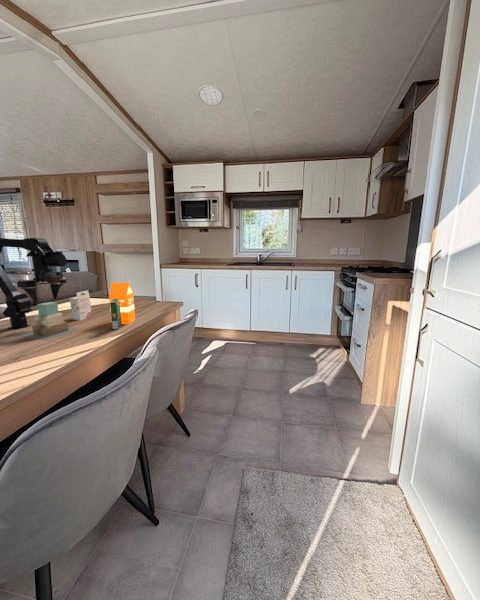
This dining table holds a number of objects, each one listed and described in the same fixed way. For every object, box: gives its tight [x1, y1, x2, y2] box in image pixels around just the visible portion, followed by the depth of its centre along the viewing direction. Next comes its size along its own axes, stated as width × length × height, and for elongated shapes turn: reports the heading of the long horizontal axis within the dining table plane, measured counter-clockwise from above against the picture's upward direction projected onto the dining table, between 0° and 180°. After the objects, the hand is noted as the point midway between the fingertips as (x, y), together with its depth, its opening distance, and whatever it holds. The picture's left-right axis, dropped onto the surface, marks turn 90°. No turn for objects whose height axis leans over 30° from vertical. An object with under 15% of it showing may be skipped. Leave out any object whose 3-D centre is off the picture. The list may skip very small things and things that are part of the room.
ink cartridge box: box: [69, 290, 93, 321], centre depth 141 cm, size 9×5×15 cm, turn 168°
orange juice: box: [108, 282, 136, 325], centre depth 134 cm, size 8×9×20 cm
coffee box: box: [109, 299, 123, 331], centre depth 125 cm, size 8×3×13 cm, turn 14°
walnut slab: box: [31, 321, 69, 337], centre depth 117 cm, size 9×9×4 cm
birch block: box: [34, 312, 65, 327], centre depth 116 cm, size 7×7×4 cm
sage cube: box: [36, 301, 60, 317], centre depth 115 cm, size 5×5×5 cm
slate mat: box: [19, 327, 81, 341], centre depth 117 cm, size 16×16×1 cm
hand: (45, 300), depth 123 cm, fingers open, 9 cm apart
